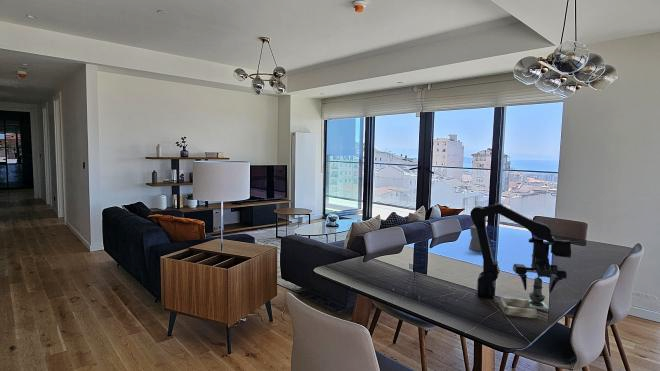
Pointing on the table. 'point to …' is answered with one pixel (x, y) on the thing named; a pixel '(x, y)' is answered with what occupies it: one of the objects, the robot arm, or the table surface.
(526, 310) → the beige bracket
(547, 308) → the pad
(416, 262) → the table surface
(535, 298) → the dark grey chess piece
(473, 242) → the coffeepot
